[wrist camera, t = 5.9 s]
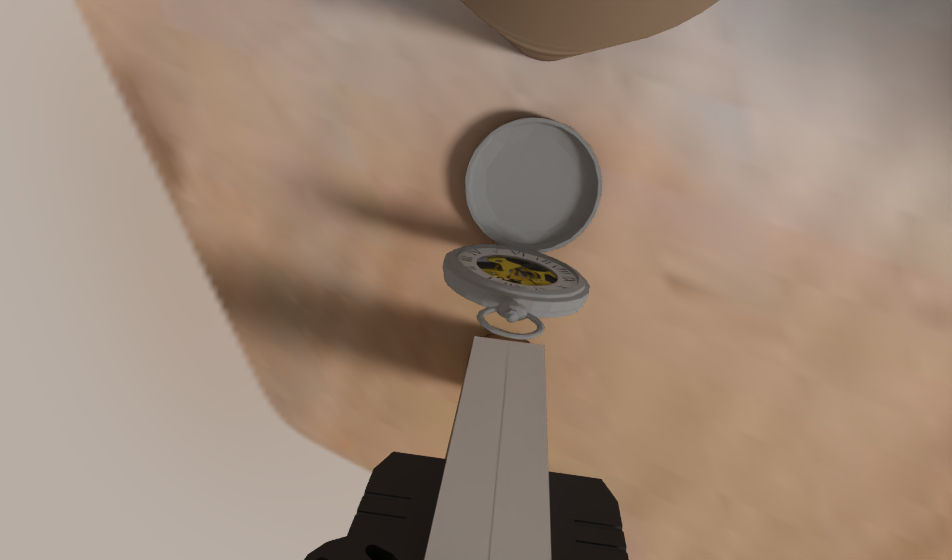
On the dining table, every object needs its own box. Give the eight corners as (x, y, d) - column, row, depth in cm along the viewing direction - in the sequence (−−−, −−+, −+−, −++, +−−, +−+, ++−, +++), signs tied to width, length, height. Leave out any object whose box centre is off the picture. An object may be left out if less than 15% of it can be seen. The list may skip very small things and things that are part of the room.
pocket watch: (572, 93, 29) (589, 107, 19) (629, 252, 31) (669, 332, 22) (417, 159, 31) (364, 201, 21) (482, 305, 33) (460, 401, 23)
